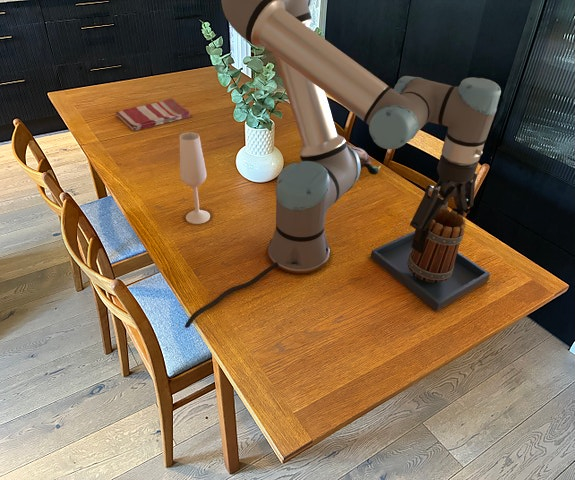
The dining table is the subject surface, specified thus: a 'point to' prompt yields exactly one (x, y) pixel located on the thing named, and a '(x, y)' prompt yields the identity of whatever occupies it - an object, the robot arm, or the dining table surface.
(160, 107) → the dish towel
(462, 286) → the tray
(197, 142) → the champagne flute
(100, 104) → the dining table surface
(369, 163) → the decorative duck model
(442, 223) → the mug
